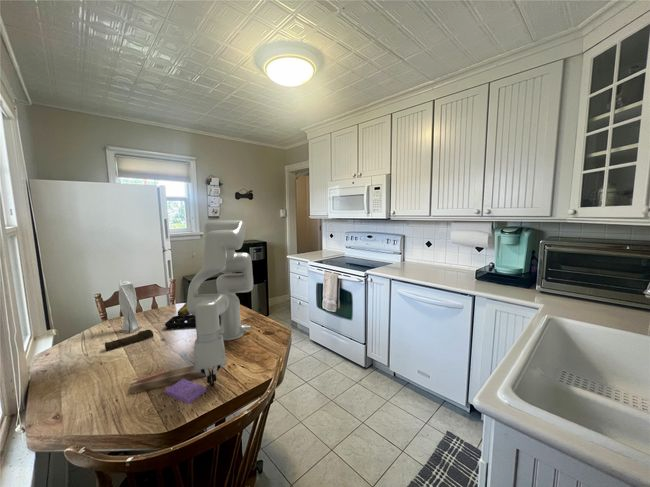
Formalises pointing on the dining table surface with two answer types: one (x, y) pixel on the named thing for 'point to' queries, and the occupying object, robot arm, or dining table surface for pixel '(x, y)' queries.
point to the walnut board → (165, 379)
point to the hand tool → (129, 339)
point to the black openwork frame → (183, 322)
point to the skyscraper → (128, 306)
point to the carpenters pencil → (149, 377)
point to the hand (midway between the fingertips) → (211, 383)
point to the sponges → (185, 390)
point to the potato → (183, 310)
